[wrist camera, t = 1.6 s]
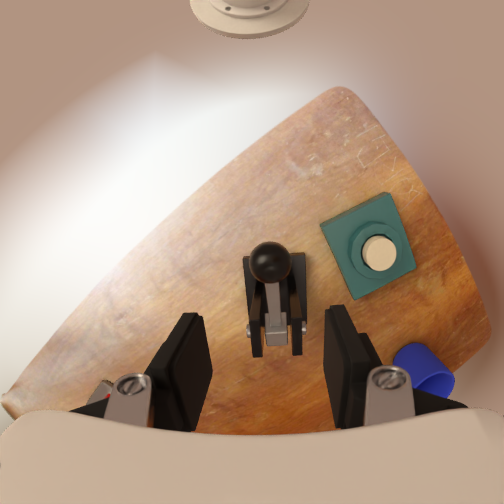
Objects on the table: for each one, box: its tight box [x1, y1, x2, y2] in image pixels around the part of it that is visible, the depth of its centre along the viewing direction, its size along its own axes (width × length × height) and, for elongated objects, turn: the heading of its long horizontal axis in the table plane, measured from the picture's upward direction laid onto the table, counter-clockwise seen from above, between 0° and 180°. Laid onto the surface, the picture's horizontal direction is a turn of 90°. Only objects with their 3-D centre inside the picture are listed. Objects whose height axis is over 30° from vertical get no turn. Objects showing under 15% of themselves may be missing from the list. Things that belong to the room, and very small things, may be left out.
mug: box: [393, 343, 455, 398], centre depth 37 cm, size 8×12×10 cm
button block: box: [320, 192, 417, 300], centre depth 35 cm, size 11×10×4 cm
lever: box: [249, 242, 291, 346], centre depth 26 cm, size 13×3×3 cm
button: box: [362, 236, 396, 271], centre depth 33 cm, size 4×4×2 cm
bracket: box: [243, 253, 307, 358], centre depth 34 cm, size 10×8×13 cm
